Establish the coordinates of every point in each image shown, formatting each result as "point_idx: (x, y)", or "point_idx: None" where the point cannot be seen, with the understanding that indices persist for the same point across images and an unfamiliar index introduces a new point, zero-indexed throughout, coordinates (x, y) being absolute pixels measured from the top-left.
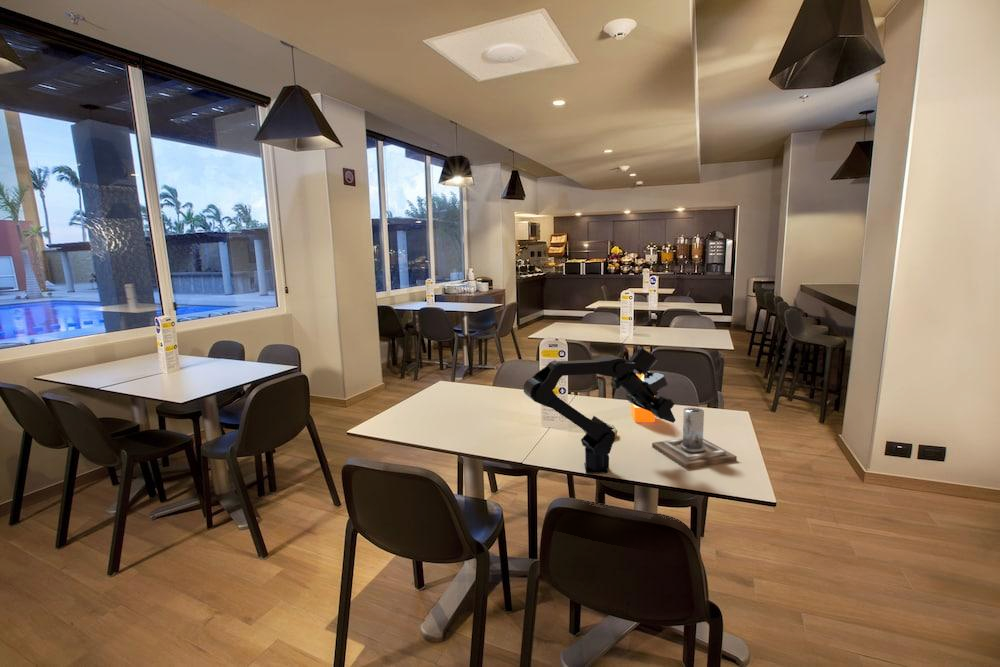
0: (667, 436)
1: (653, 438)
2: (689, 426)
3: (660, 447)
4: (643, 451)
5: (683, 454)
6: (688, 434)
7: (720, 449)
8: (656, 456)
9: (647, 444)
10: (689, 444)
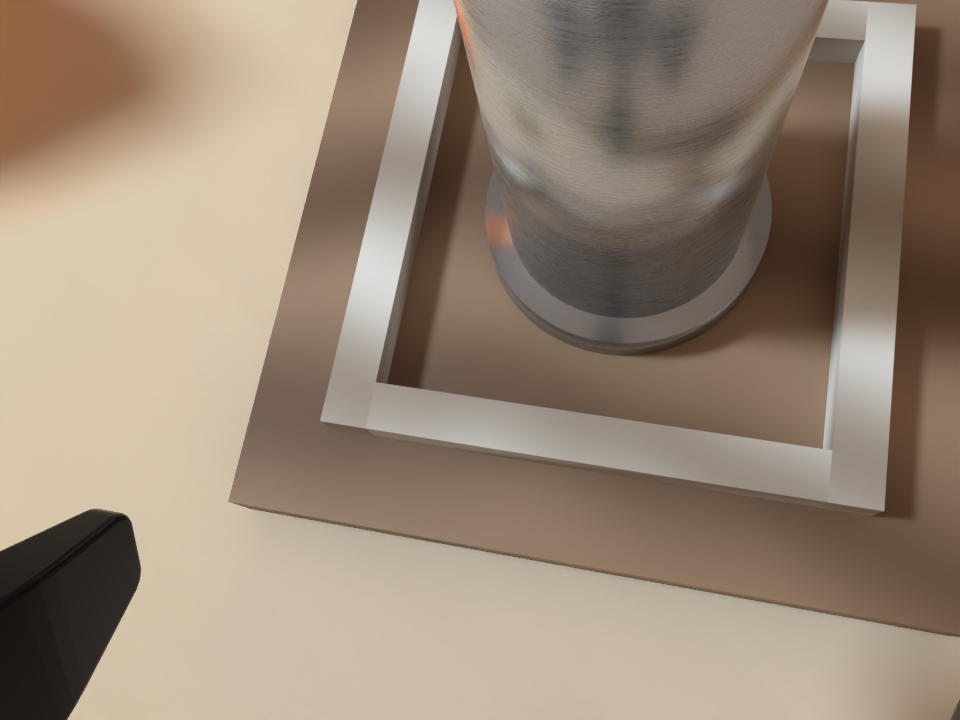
0: (139, 153)
1: (88, 318)
2: (706, 157)
3: (393, 521)
4: (287, 701)
5: (786, 496)
6: (683, 233)
7: (849, 11)
8: (482, 670)
9: (166, 500)
10: (684, 283)
